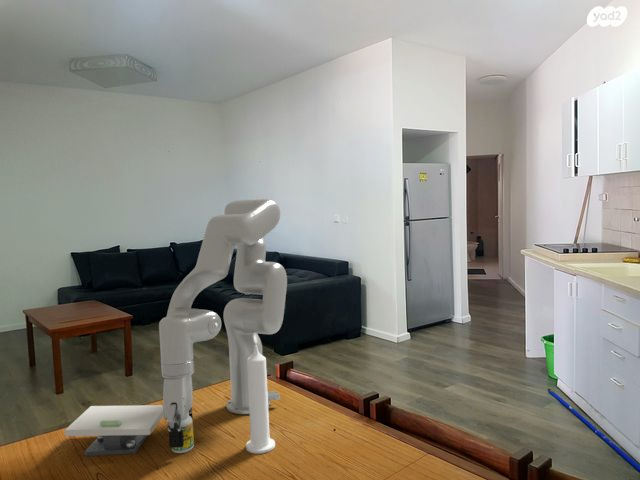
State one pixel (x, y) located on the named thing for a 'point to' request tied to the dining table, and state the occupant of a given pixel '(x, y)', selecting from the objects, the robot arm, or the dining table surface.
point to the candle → (258, 405)
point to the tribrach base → (115, 445)
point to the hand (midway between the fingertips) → (181, 437)
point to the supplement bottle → (186, 434)
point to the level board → (116, 420)
